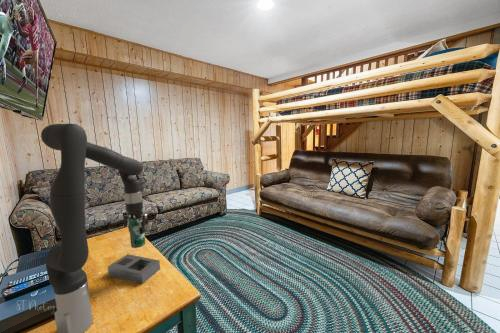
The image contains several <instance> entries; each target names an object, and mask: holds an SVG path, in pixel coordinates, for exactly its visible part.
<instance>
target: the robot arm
mask: <svg viewBox="0 0 500 333" xmlns="http://www.w3.org/2000/svg"><path fill="white" fill-rule="evenodd" d="M40 137H41V141H42V142H43V143H44V145H45V146H46V147H48V148H50V149H52V150H56V151H60V160H61V161H60V165H59V166H60V167H59V170H58V171H57V174H56V176H55V178H54V180H53V181H52V183H51V187H50V190H49V206H50V212H51V214H52V215H51V216H52V217H53V219H54V221H55V223H56V225H57V227H58V230H59V233H60V238H61V240H60V242H58V243H56V244H54V245H53V246H52V247H50V249H49V250H48V251H47V253H46V256H45V267H46V272H47V277H48V281H49V284H50V285H51V287H52V288H53V293H54V300H55V306H56V311H55V312H54V313H53V314H54V320H55V325H56V332H57V333H85V332H86V331H87V330H88V329H89V328H90V327H91V326H92V324H93V321H94V320H93V314H92V303H91V298H90V290H89V282H88V274H87V273H86V271H85V270H84V269H82V268H83V267H84V266H85V264H86V263H87V261H88V258H89V253H90V252H89V245H88V236H87V230H86V190H85V187H86V186H85V174H86V173H85V169H86V168H85V167H86V159H88V160H91V161H93V162H96V163H99V164H101V165H102V166H103V165H104V166H105V167H108V168H111V169H113V170H118V174H119V176H120V179H121V180H122V181H121V182H122V183H123V186H124V187H123V188H124V204H125V206H124V207H125V211H123V212H122V217H123V224H124V225H127V226H128V228H127V229H128V233H130V230H129V220H128V218H134V219H137V218H138V219H139V218H140V217H142V220H141V221H139V220H138V219H137V224H139V226H140V227H139V228H140V234H143V233H144V234H145V231H146V228H145V227H146V226H148V225H149V213H144V212H143V209H144V204H143V194H142V187H141V181H140V179H136V178H135V177H134V176H138V175H140V174H141V173H142V172H143V170H144V166H143V164H142V163H141V162H140V161H139V160H137V159H134V158H132V157H128V156H125V155H123V154H121V153H119V152H117V151H115V150H113V149H111V148H108V147H104V146H101V145H99V144H95V143H92V142H89V141H88V136H87V133H86V131H85V129H84V128H83V127H82V126H81V125H79V124H76V123H55V124H54V123H53V124H50V125H47V126H45V127H44V128H43V129H42V130H41V133H40ZM141 222H142V224H141Z"/></svg>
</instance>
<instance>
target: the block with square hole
mask: <svg viewBox="0 0 500 333" xmlns="http://www.w3.org/2000/svg"><path fill="white" fill-rule="evenodd" d="M160 262H161V261H160V260H158V259H154V258H149V257H143V256H138V255H133V254H128V253H127V254H126V255H124V256H122V257H120V258H119V259H118V260H116V261H115V262H114V261H113V263H111V264H109V265H108V266H107V273H108V276H109V277H113V278H116V279H120V280H121V279H122V280H124V281H128V282H132V283H133V282H134V283H138V284H141V285H143V284H145V283H146V282H147V281H148V280H149V279H151V278H152V277H153V276H154V275H155V274H156V273H157V272H159V270H161V263H160ZM140 269H141V270H140Z"/></svg>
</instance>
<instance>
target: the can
mask: <svg viewBox="0 0 500 333" xmlns="http://www.w3.org/2000/svg"><path fill="white" fill-rule="evenodd" d="M137 219H138V218H137ZM137 219H134V218H128V220H129V229H128V231H129V230H130V232H129V238H130V239H129V240H130V247H131V248H132V249H138V248H142V247H143V246H145V245H146V237H145V232H144V233H143V234H140V228H139V227H140V226H139V224H137ZM138 220H139V221H141V220H142V217H140V218H139V219H138ZM141 224H142V222H141Z"/></svg>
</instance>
